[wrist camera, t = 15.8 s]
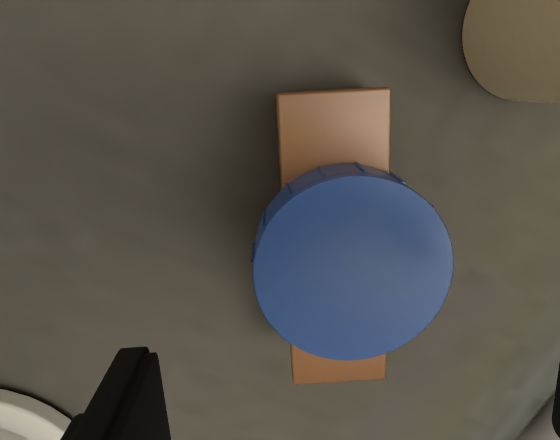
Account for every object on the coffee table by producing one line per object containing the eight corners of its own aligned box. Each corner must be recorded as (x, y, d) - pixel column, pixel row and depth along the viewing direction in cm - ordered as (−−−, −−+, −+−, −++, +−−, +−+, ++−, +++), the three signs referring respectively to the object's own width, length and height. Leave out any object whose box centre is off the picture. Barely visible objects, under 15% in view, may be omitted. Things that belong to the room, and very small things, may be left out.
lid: (283, 139, 15) (286, 147, 13) (457, 191, 16) (488, 208, 14) (234, 304, 17) (229, 335, 15) (392, 344, 18) (409, 380, 16)
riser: (366, 329, 22) (386, 379, 18) (289, 334, 22) (293, 385, 18) (367, 87, 19) (392, 87, 15) (275, 92, 19) (276, 93, 15)
